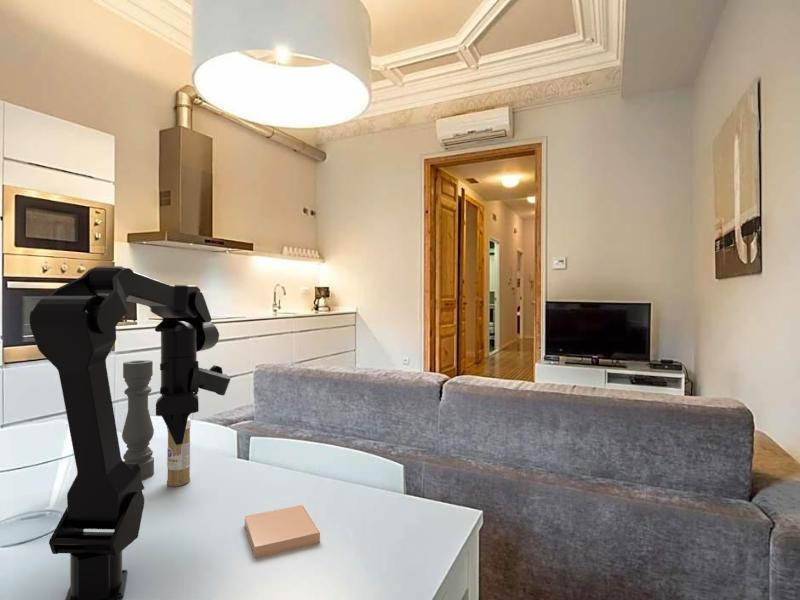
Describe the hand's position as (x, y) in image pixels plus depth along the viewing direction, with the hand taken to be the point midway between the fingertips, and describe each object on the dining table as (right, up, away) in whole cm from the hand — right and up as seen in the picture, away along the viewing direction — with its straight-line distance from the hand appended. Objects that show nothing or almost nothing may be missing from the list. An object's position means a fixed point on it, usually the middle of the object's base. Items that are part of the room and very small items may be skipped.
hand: (179, 443), depth 82 cm
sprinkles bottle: (-8, -13, +16) cm, 22 cm away
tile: (+19, -12, -6) cm, 24 cm away
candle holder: (-18, -13, +19) cm, 30 cm away
